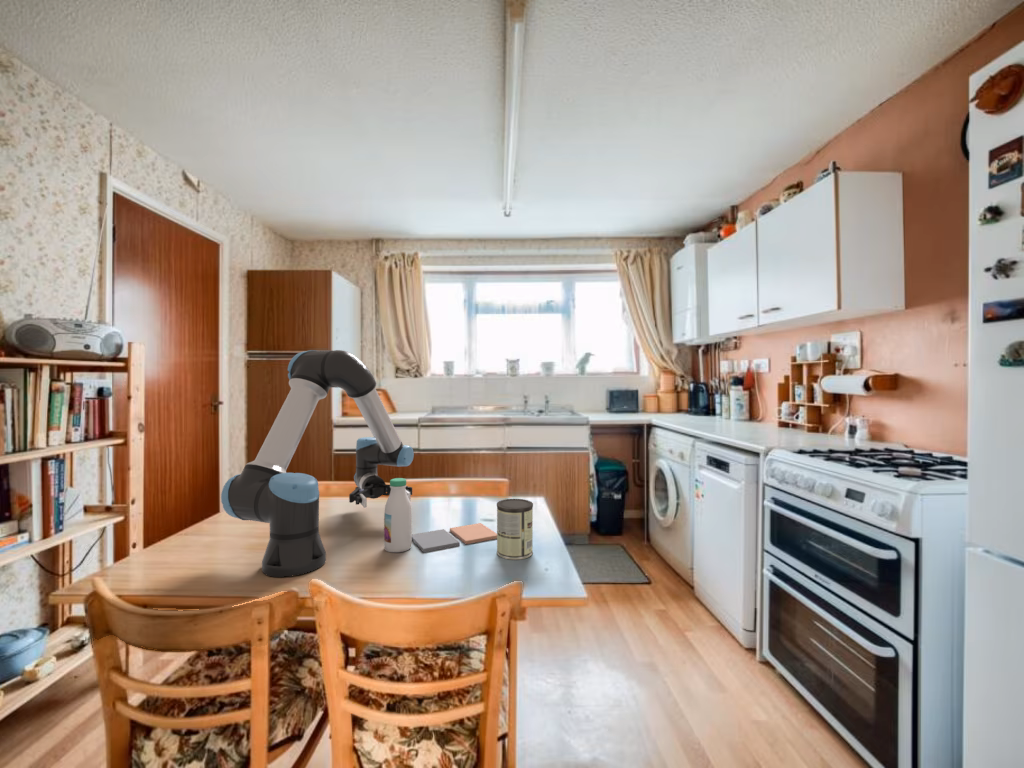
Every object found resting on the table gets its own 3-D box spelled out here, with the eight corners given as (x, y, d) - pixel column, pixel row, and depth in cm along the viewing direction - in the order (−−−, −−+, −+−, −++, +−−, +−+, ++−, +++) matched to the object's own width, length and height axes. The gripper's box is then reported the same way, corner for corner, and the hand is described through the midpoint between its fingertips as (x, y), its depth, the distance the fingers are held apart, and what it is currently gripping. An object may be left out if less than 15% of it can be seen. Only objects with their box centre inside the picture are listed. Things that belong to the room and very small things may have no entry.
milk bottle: (413, 543, 137) (414, 476, 136) (408, 553, 129) (409, 482, 129) (387, 543, 136) (387, 476, 136) (381, 553, 129) (381, 482, 128)
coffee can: (498, 545, 135) (499, 497, 135) (533, 546, 134) (534, 499, 134) (494, 559, 125) (494, 507, 125) (531, 561, 124) (532, 509, 124)
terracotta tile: (465, 544, 136) (465, 540, 136) (449, 531, 147) (449, 528, 147) (498, 538, 141) (498, 534, 141) (480, 525, 153) (480, 522, 153)
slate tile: (423, 552, 130) (423, 548, 130) (410, 537, 141) (410, 534, 141) (459, 545, 135) (459, 542, 135) (443, 532, 146) (443, 529, 146)
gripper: (407, 492, 167) (426, 506, 149) (334, 500, 155) (345, 518, 137) (407, 471, 167) (426, 483, 149) (334, 478, 155) (345, 493, 137)
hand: (387, 500), depth 143 cm, fingers open, 13 cm apart
